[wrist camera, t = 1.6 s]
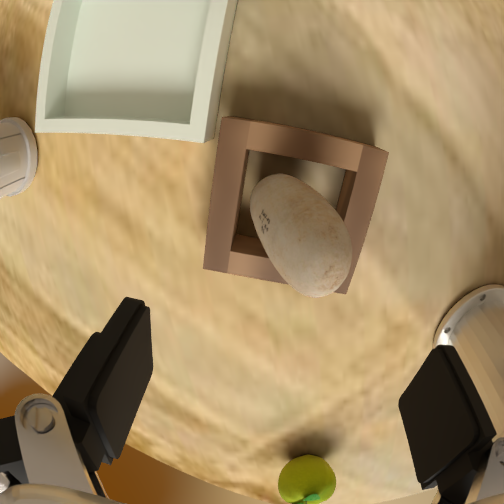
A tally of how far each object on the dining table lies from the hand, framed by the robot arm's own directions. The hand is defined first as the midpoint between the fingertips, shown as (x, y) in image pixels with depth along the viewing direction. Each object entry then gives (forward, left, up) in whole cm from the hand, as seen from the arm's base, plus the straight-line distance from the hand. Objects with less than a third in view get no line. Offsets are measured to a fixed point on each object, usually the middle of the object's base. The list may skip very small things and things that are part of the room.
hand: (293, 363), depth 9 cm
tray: (+15, -12, -19) cm, 26 cm away
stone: (0, 0, -19) cm, 19 cm away
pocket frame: (0, 0, -19) cm, 19 cm away
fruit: (-13, +42, -19) cm, 48 cm away
